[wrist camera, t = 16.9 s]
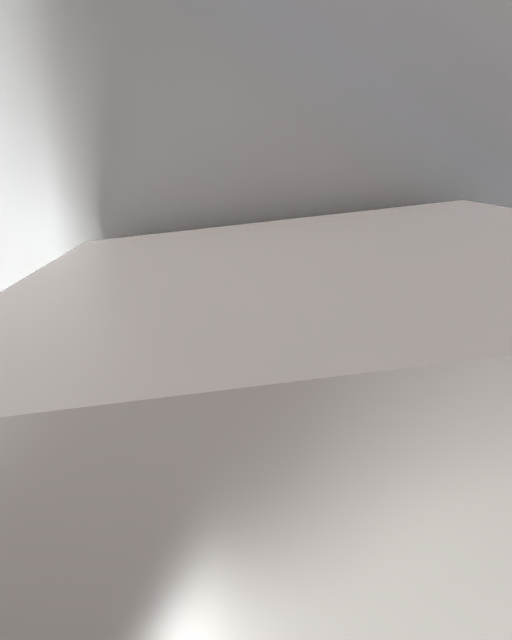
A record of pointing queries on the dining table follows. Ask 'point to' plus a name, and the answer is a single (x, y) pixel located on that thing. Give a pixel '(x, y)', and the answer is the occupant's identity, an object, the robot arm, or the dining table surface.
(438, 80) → the dining table surface
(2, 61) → the dining table surface
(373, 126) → the dining table surface
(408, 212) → the white box
